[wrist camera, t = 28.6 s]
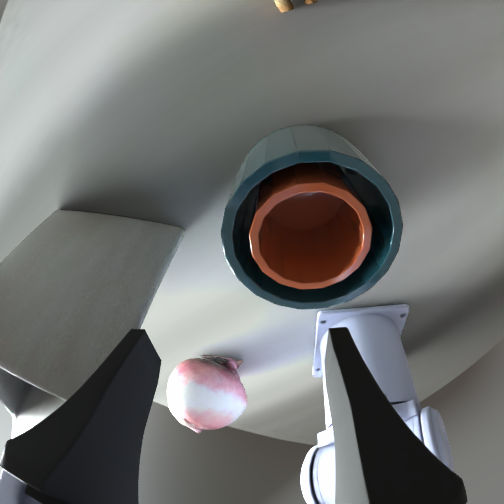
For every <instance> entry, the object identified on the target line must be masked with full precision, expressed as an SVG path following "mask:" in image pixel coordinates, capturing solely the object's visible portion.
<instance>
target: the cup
mask: <svg viewBox="0 0 504 504" xmlns="http://www.w3.org/2000/svg"><path fill="white" fill-rule="evenodd" d="M371 236H372V225H371V222H370V219H369V217H368V214H367V211H366V208H365V207H364V205H363V203H362V201H361V200H360V198H359V196H358V195H357V193H356V191H355V190H354V188H353V186H352V185H351V183H350V181H349V180H348V178H347V177H346V175H345V173H344V172H343V170H342V169H341V168H340V167H339V166H338V165H337V164H334V163H331V162H310V163H298V164H295V165H292V166H289V167H287V168H284V169H281V170H278V171H276V172H273V173H271V174H270V175H269V176H267V177H266V178H265V179H264V180H262V181H261V182H260V183H259V184H258V186H257V189H256V194H255V200H254V206H253V213H252V219H251V225H250V231H249V239H250V246H251V254H252V256H253V257H254V259H255V261H256V262H257V264H258V265H259V267H260V268H261V270H262V271H263V272H264V273H265V274H267V275H268V276H269V277H271V278H272V279H274V280H275V281H277V282H278V283H280V284H283V285H286V286H290V287H294V288H298V289H316V288H322V287H323V288H324V287H327V286H330V285H332V284H335V283H338V282H340V281H342V280H344V279H345V278H347V277H348V276H349V275H350V274H352V273H353V272H354V271H355V270H356V269H358V268H359V267H360V265H361V264H362V262H363V260H364V258H365V257H366V255H367V253H368V251H369V250H370V245H371Z"/></svg>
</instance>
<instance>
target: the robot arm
mask: <svg viewBox="0 0 504 504" xmlns="http://www.w3.org/2000/svg"><path fill="white" fill-rule="evenodd" d="M408 313H409V306H408V305H407V304H400V305H389V306H378V307H365V308H352V309H336V310H322V311H320V312H319V313H318V314H317V326H316V339H315V351H314V362H313V376H314V377H323V387H324V400H325V415H326V431H323V432H320V433H318V445H316V446H314V447H313V448H311V449H310V451H309V452H308V454H307V456H306V458H305V461H304V463H303V466H302V470H301V488H302V493H303V496H304V498H305V500H306V502H307V504H466V503H467V496H466V490H465V487H464V483H463V481H462V479H461V478H460V477H459V476H458V475H456V474H455V473H454V470H453V461H452V455H451V450H450V446H449V441H448V437H447V434H446V430H445V427H444V424H443V421H442V418H441V416H440V414H439V412H438V411H437V410H434V409H431V407H425V408H423V409H421V407H420V405H419V401H418V397H417V393H416V389H415V385H414V382H413V378H412V375H411V371H410V368H409V364H408V361H407V358H406V355H405V351H404V348H403V345H402V342H401V339H400V336H401V333H402V330H403V328H404V325H405V322H406V319H407V316H408ZM322 320H323V321H322ZM160 366H161V359H160V357H159V356H158V354H157V352H156V350H155V348H154V346H153V344H152V343H151V341H150V339H149V337H148V335H147V333H146V331H145V329H131V330H130V331H129V332H128V333H127V334H126V335H125V337H124V338H123V339H122V340H121V341H120V343H119V344H118V345H117V346H116V347H115V348H114V350H113V351H112V352H111V353H110V354H109V356H108V357H107V358H106V359H105V360H104V362H103V363H102V364H101V365H100V366H99V367H98V369H97V370H96V371H95V372H94V373H93V374H92V375H91V376H90V377H89V379H88V380H87V381H86V382H85V383H84V384H83V385H82V386H81V387H80V388H79V389H78V390H77V391H76V392H75V393H74V394H73V395H72V396H71V397H70V398H69V399H68V400H67V401H66V402H65V403H64V404H62V405H61V406H60V407H59V408H58V409H56V410H55V411H54V412H53V413H51V414H50V415H49V416H48V417H46V418H45V419H44V420H42V421H41V422H39V423H38V424H36V425H35V426H33V427H32V428H30V429H29V430H27V431H25V432H23V433H22V434H20V435H18V436H16V437H14V438H12V439H10V440H8V441H7V442H6V445H5V448H4V450H3V454H2V456H1V459H0V466H1V467H2V468H4V469H5V470H2V472H1V475H0V504H138V475H139V463H140V454H141V446H142V439H143V434H144V430H145V426H146V423H147V419H148V415H149V412H150V409H151V405H152V402H153V398H154V395H155V391H156V388H157V384H158V379H159V373H160ZM6 470H7V471H6Z"/></svg>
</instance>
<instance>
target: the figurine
mask: <svg viewBox="0 0 504 504" xmlns="http://www.w3.org/2000/svg"><path fill="white" fill-rule="evenodd" d="M274 1H275V3H276V6H277V7H278V8H279V10H280V11H281V12H287V11H290V10H293V9H294V5H293V4H292V2H291V0H274ZM304 2H305V3H306V4H311V3H315V2H317V0H304Z"/></svg>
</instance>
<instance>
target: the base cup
mask: <svg viewBox="0 0 504 504" xmlns="http://www.w3.org/2000/svg"><path fill="white" fill-rule="evenodd" d="M310 162H331V163H334V164H337V165H338V166H339V167H340V168H341V169H342V170H343V172H344V173H345V175H346V177H347V178H348V180H349V181H350V183H351V185H352V186H353V188H354V190H355V191H356V193H357V195H358V196H359V198H360V200H361V201H362V203H363V205H364V207H365V208H366V211H367V214H368V217H369V219H370V222H371V225H372V236H371V245H370V250H369V251H368V253H367V255H366V257H365V258H364V260H363V262H362V264H361V265H360V267H359V268H358V269H356V270H355V271H354V272H353V273H352V274H350V275H349V276H348V277H347V278H345V279H344V280H342V281H340V282H338V283H335V284H332V285H330V286H327V287H324V288H323V287H322V288H316V289H298V288H294V287H290V286H286V285H283V284H280V283H278V282H277V281H275V280H274V279H272V278H271V277H269V276H268V275H267V274H265V273H264V272H263V271H262V270H261V268H260V267H259V265H258V264H257V262H256V261H255V259H254V257H253V256H252V254H251V246H250V239H249V231H250V225H251V219H252V213H253V206H254V200H255V194H256V189H257V186H258V184H259V183H260V182H261V181H262V180H264V179H265V178H266V177H267V176H269V175H270V174H271V173H273V172H276V171H278V170H281V169H284V168H287V167H289V166H292V165H295V164H298V163H310ZM402 229H403V222H402V216H401V211H400V205H399V202H398V199H397V197H396V195H395V194H394V192H393V190H392V189H391V187H390V186H389V184H388V182H387V181H386V179H385V178H384V177H383V176H382V175H381V173H380V172H379V171H378V170H377V169H376V168H375V167H374V166H373V165H372V164H371V163H370V162H369V161H368V160H367V158H366V157H365V156H364V155H363V154H362V153H361V152H360V151H359V150H358V149H357V148H356V147H355V146H354V145H352V144H351V143H350V142H348V141H347V140H346V139H345V138H343V137H342V136H340V135H339V134H337V133H335V132H333V131H331V130H329V129H325V128H322V127H318V126H312V125H296V126H290V127H286V128H282V129H279V130H277V131H274V132H272V133H271V134H269V135H267V136H265V137H264V138H263V139H261V140H260V141H259V142H258V143H257V144H256V145H255V146H254V147H253V148H252V149H251V150H250V152H249V153H248V154H247V156H246V158H245V159H244V161H243V163H242V165H241V167H240V169H239V172H238V174H237V177H236V180H235V183H234V185H233V188H232V191H231V194H230V196H229V199H228V202H227V205H226V208H225V212H224V218H223V223H222V228H221V238H222V244H223V249H224V255H225V257H226V258H225V259H226V260H227V262H228V264H229V265H230V267H231V269H232V271H233V272H234V274H235V276H236V277H237V278H238V280H239V281H240V282H242V283H243V284H244V285H245V286H246V287H247V288H248V289H249V290H251V291H252V292H253V293H254V294H255V295H257V296H259V297H261V298H263V299H265V300H268V301H270V302H272V303H274V304H276V305H280V306H285V307H290V308H296V309H320V308H328V307H331V306H335V305H338V304H342V303H345V302H348V301H350V300H352V299H354V298H356V297H357V296H359V295H361V294H362V293H364V292H366V291H368V290H369V289H370V288H372V287H373V286H374V285H375V284H376V283H377V282H378V281H379V280H380V279H381V278H382V277H383V276H384V275H385V274H386V272H387V271H388V270H389V268H390V266H391V264H392V262H393V260H394V259H395V257H396V255H397V253H398V250H399V247H400V241H401V235H402Z"/></svg>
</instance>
